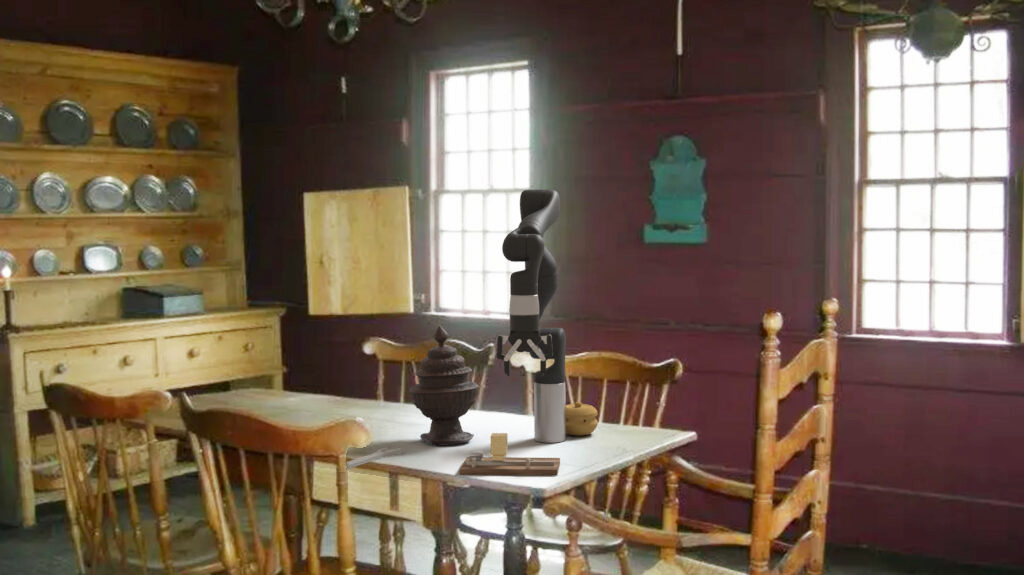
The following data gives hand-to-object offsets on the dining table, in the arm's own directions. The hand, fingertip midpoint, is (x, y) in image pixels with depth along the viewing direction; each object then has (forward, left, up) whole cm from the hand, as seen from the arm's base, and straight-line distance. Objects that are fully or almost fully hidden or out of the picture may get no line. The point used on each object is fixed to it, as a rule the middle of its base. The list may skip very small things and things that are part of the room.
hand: (525, 375), depth 283 cm
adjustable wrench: (-14, -44, -26) cm, 53 cm away
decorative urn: (-39, -27, -25) cm, 54 cm away
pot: (-51, +12, -25) cm, 58 cm away
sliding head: (-4, -7, -23) cm, 25 cm away
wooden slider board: (-4, -4, -25) cm, 26 cm away
